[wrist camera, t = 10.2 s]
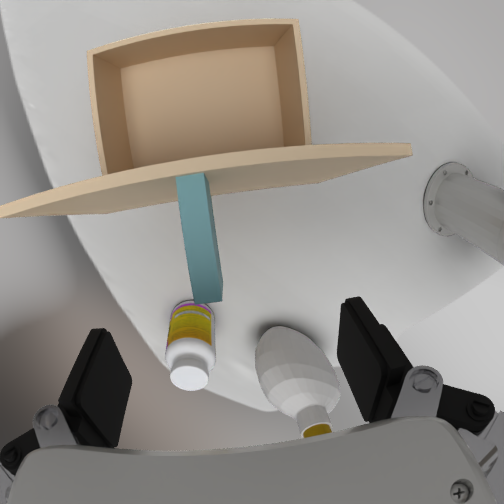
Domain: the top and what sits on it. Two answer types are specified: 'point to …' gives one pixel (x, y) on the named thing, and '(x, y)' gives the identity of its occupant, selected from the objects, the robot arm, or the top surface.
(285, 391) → the soap bottle
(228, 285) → the top surface
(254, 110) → the carton
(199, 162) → the lid
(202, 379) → the supplement bottle
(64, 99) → the top surface
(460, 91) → the top surface
